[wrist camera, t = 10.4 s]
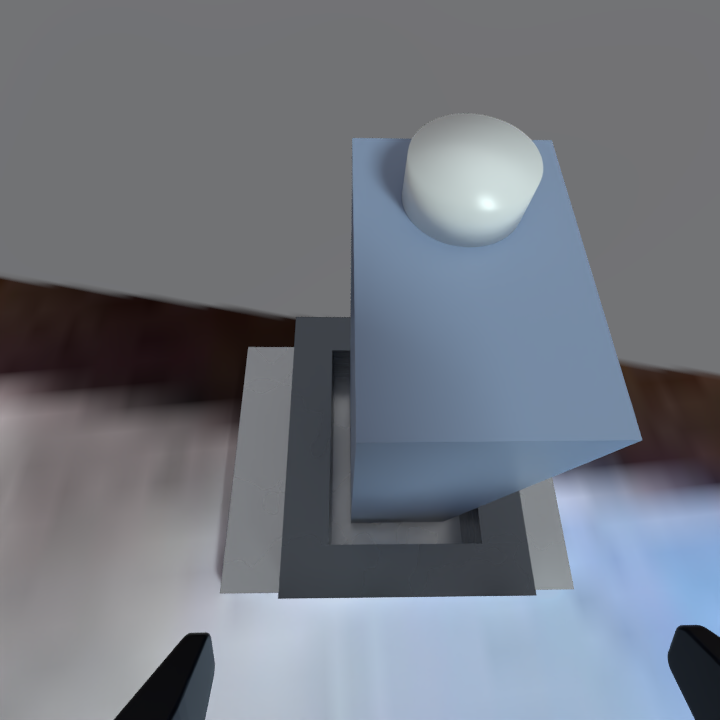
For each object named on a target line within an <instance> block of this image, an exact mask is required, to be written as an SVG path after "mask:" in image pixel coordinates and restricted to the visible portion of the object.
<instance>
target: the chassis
mask: <svg viewBox="0 0 720 720" xmlns="http://www.w3.org/2000/svg"><path fill="white" fill-rule="evenodd" d="M350 337H351V317H347V318H346V317H296V326H295V342H294V347H248V354H247V362H246V371H245V380H244V388H243V397H242V406H241V415H240V423H239V432H238V441H237V449H236V458H235V467H234V476H233V484H232V493H231V502H230V510H229V519H228V528H227V536H226V545H225V554H224V563H223V571H222V580H221V589H220V593H279V594H278V599H281V598H363V597H445V596H527V595H536V590H548V589H574V587H573V581H572V576H571V571H570V566H569V561H568V556H567V551H566V546H565V541H564V536H563V530H562V525H561V520H560V515H559V510H558V505H557V500H556V495H555V490H554V485H553V480H552V477H551V478H549V479H546V480H544V481H541V482H539V483H536V484H534V485H532V486H529V487H527V488H524V489H522V490H519V491H517V492H514V493H512V494H510V495H507V496H505V497H502V498H500V499H497V500H495V501H492V502H490V503H488V504H485V505H483V506H480V507H478V508H475V509H473V510H471V511H468V512H466V513H463V514H461V515H458V516H456V517H453V518H451V519H449V520H446V521H444V522H399V523H351V471H350Z"/></svg>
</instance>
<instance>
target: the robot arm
mask: <svg viewBox="0 0 720 720" xmlns="http://www.w3.org/2000/svg"><path fill="white" fill-rule="evenodd" d="M668 663H669V667H670V669H671V672H672V674H673V676H674V678H675V680H676V682H677V684H678V686H679V688H680V690H681V692H682V694H683V696H684V698H685V700H686V702H687V704H688V706H689V708H690V710H691V712H692V714H693V717H694V719H695V720H720V637H719V636H717V635H716V634H714V633H713V632H711V631H710V630H708V629H707V628H705V627H703V626H700V625H681V626H679V627H678V628H677V629H676V631H675V634H674V637H673V640H672V643H671V646H670V649H669V651H668ZM214 669H215V662H214V655H213V648H212V641H211V636H210V634H209V633H189V634H187V635H186V636H185V637H184V638H183V639H182V640H181V641H180V642H179V643H178V645H177V646H176V647H175V648H174V649H173V651H172V652H171V653H170V654H169V655H168V656H167V658H166V659H165V660H164V661H163V662H162V663H161V665H160V666H159V667H158V668H157V669H156V671H155V672H154V673H153V674H152V675H151V676H150V678H149V679H148V680H147V681H146V682H145V684H144V685H143V686H142V687H141V688H140V689H139V691H138V692H137V693H136V694H135V695H134V696H133V698H132V699H131V700H130V701H129V702H128V704H127V705H126V706H125V707H124V708H123V709H122V711H121V712H120V713H119V714H118V715H117V717H116V718H115V719H114V720H205V716H206V712H207V707H208V702H209V697H210V692H211V687H212V682H213V677H214Z"/></svg>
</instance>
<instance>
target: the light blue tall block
mask: <svg viewBox="0 0 720 720" xmlns="http://www.w3.org/2000/svg"><path fill="white" fill-rule="evenodd" d="M351 236H352V237H351V240H352V241H351V337H350V471H351V523H399V522H444V521H446V520H449V519H451V518H453V517H456V516H458V515H461V514H463V513H466V512H468V511H471V510H473V509H475V508H478V507H480V506H483V505H485V504H488V503H490V502H492V501H495V500H497V499H500V498H502V497H505V496H507V495H510V494H512V493H514V492H517V491H519V490H522V489H524V488H527V487H529V486H532V485H534V484H536V483H539V482H541V481H544V480H546V479H549V478H551V477H553V476H556V475H558V474H561V473H563V472H566V471H568V470H571V469H573V468H575V467H578V466H580V465H583V464H585V463H588V462H590V461H592V460H595V459H597V458H600V457H602V456H605V455H607V454H610V453H612V452H614V451H617V450H619V449H622V448H624V447H627V446H629V445H631V444H634V443H636V442H639V441H641V440H642V438H641V434H640V431H639V428H638V424H637V421H636V418H635V414H634V411H633V408H632V404H631V401H630V398H629V395H628V391H627V388H626V385H625V381H624V378H623V375H622V371H621V368H620V365H619V361H618V358H617V355H616V352H615V348H614V345H613V342H612V338H611V335H610V332H609V328H608V325H607V322H606V318H605V315H604V312H603V308H602V305H601V302H600V299H599V295H598V292H597V289H596V286H595V282H594V279H593V275H592V272H591V269H590V265H589V262H588V259H587V256H586V252H585V249H584V246H583V243H582V239H581V236H580V232H579V229H578V226H577V222H576V219H575V216H574V213H573V209H572V206H571V203H570V199H569V196H568V193H567V189H566V186H565V183H564V180H563V177H562V173H561V170H560V166H559V163H558V160H557V156H556V153H555V150H554V146H553V143H552V140H531V139H530V138H529V137H528V136H527V135H526V134H524V133H523V132H522V131H521V130H519V129H518V128H516V127H515V126H513V125H511V124H509V123H507V122H505V121H502V120H500V119H497V118H494V117H490V116H486V115H480V114H468V113H466V114H465V113H464V114H452V115H447V116H443V117H440V118H437V119H434V120H432V121H430V122H428V123H427V124H425V125H424V126H423V127H421V128H420V129H419V130H418V131H417V132H416V133H415V135H414V136H413V138H412V139H392V138H391V139H389V138H383V139H382V138H353V139H352V232H351Z"/></svg>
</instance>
